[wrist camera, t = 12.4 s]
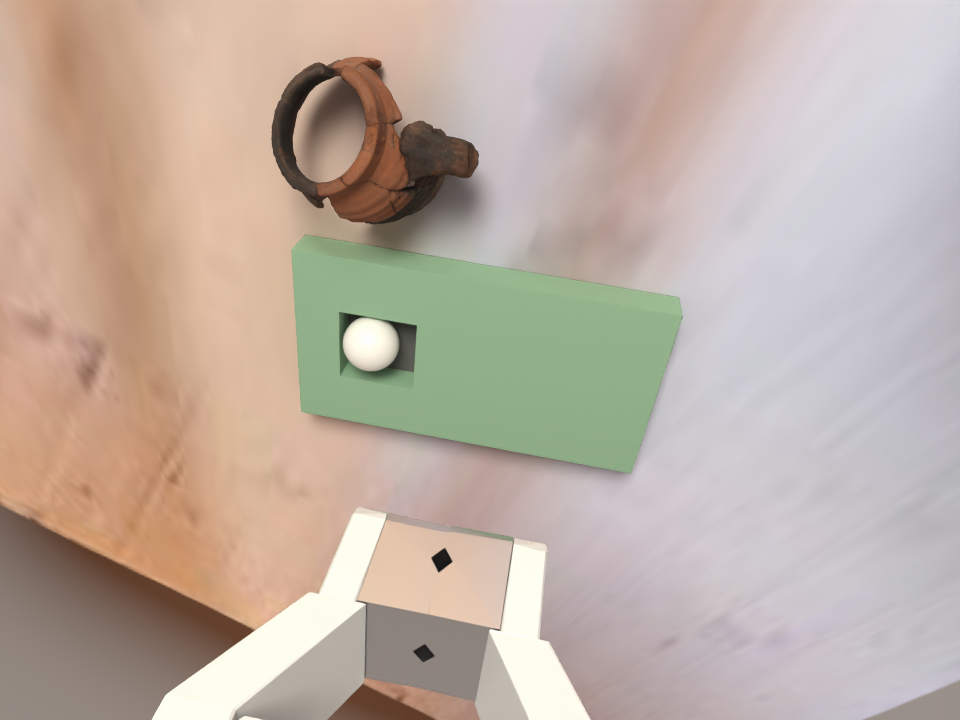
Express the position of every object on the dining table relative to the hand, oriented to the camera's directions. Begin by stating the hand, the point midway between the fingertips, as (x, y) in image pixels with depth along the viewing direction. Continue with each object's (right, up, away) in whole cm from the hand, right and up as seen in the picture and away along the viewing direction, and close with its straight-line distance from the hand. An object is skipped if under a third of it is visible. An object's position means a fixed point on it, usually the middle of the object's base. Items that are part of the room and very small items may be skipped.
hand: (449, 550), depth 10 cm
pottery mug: (-5, +17, +31) cm, 36 cm away
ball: (-7, +4, +37) cm, 38 cm away
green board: (0, +4, +39) cm, 39 cm away
